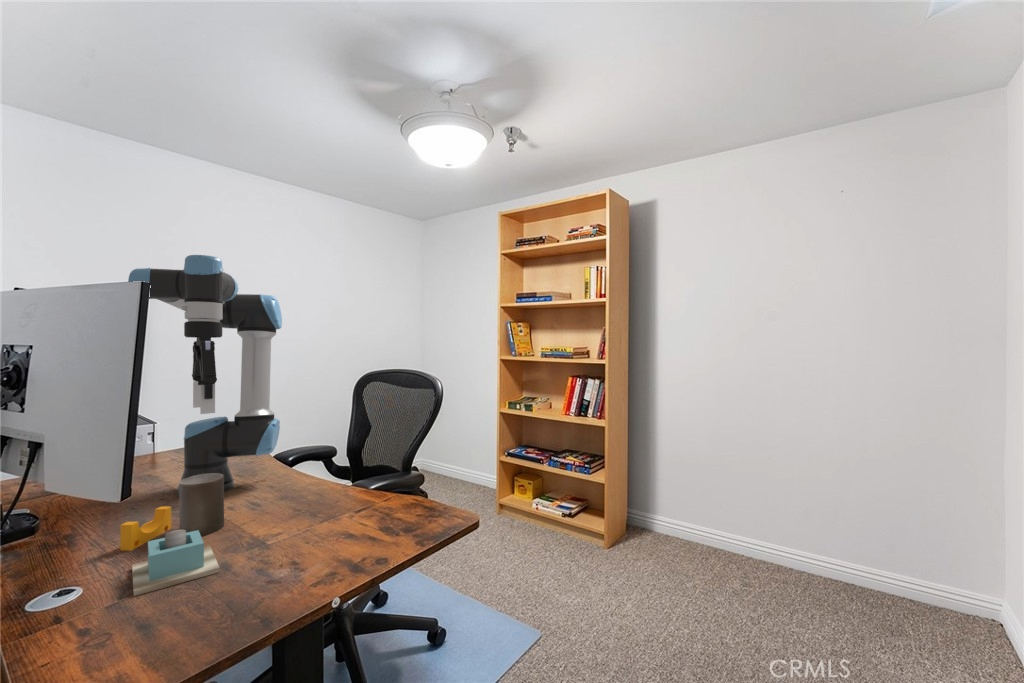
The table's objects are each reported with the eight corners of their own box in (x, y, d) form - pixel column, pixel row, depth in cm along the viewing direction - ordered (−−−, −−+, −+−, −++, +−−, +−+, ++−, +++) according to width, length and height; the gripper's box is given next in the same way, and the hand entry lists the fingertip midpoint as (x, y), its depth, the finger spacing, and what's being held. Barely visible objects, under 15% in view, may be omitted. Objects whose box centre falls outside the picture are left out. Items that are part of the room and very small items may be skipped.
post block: (132, 569, 97) (132, 531, 97) (209, 549, 106) (209, 515, 106) (133, 596, 87) (133, 554, 87) (219, 572, 96) (219, 534, 96)
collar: (147, 564, 97) (147, 541, 97) (198, 552, 103) (198, 530, 103) (149, 581, 90) (149, 556, 90) (203, 566, 96) (203, 543, 96)
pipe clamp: (154, 531, 117) (154, 506, 117) (171, 531, 117) (171, 506, 117) (113, 552, 105) (113, 524, 105) (131, 552, 105) (131, 524, 105)
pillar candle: (232, 528, 119) (232, 471, 119) (191, 542, 110) (191, 481, 110) (211, 521, 123) (211, 466, 124) (170, 534, 115) (170, 475, 115)
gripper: (179, 322, 114) (179, 406, 114) (190, 318, 96) (190, 418, 95) (214, 323, 119) (214, 403, 119) (231, 319, 100) (231, 414, 100)
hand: (203, 410), depth 107 cm, fingers open, 13 cm apart
